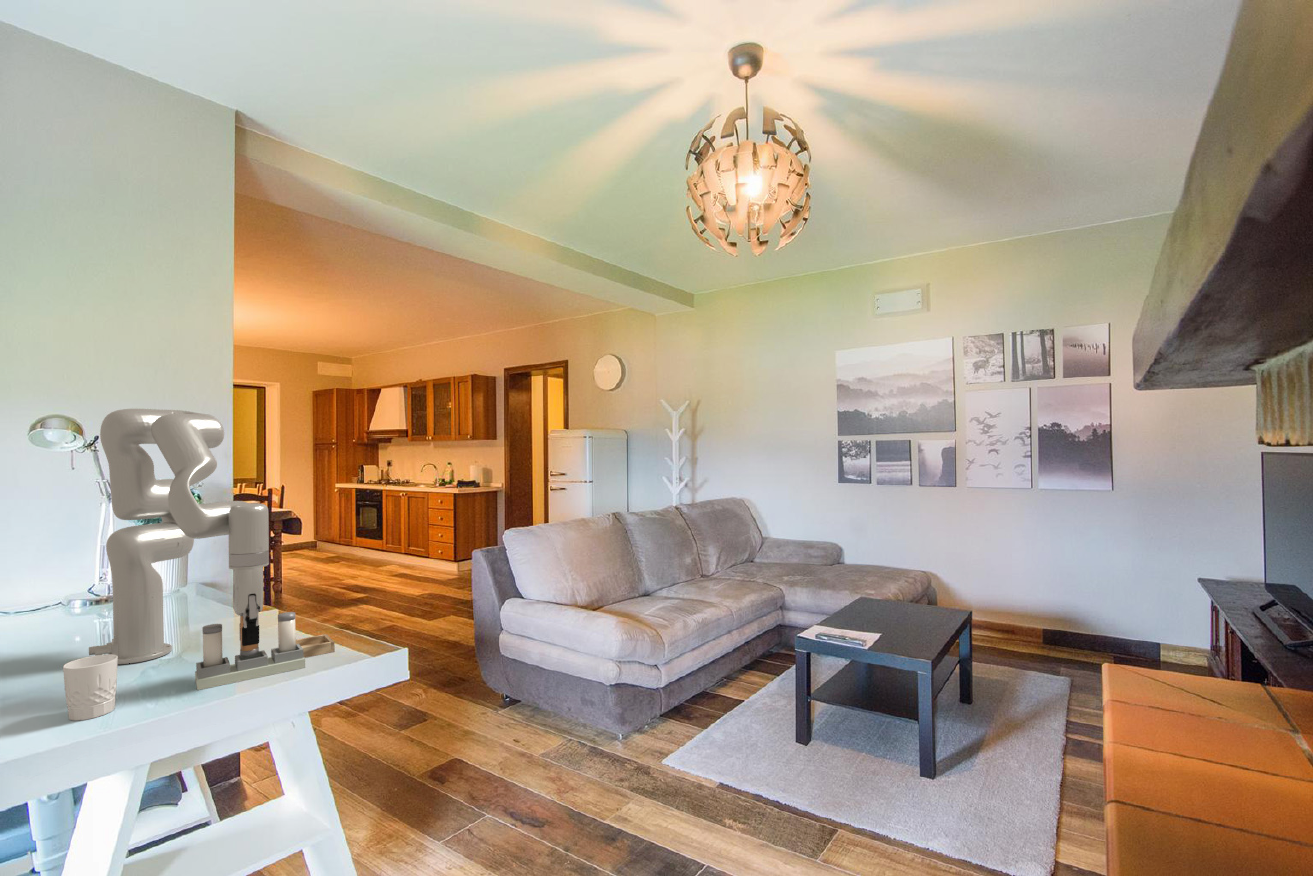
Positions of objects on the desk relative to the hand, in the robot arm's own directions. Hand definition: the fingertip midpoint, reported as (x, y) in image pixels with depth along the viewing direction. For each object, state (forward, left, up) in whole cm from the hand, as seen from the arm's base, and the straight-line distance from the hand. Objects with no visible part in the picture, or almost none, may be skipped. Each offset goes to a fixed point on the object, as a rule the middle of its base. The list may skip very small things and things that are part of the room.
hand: (249, 641), depth 143 cm
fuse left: (-7, 0, -5) cm, 9 cm away
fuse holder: (0, 0, -7) cm, 7 cm away
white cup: (-26, -4, -7) cm, 28 cm away
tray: (+14, +8, -7) cm, 17 cm away
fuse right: (+7, 0, -5) cm, 9 cm away
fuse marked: (0, 0, -3) cm, 3 cm away
